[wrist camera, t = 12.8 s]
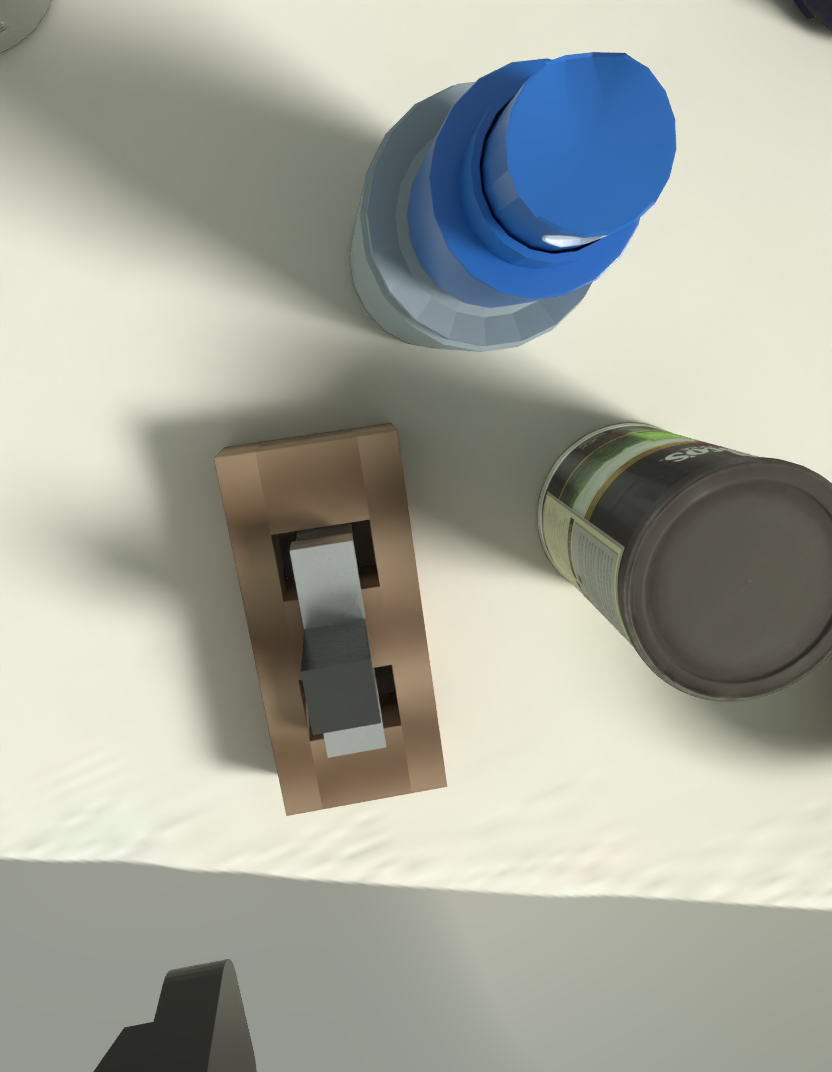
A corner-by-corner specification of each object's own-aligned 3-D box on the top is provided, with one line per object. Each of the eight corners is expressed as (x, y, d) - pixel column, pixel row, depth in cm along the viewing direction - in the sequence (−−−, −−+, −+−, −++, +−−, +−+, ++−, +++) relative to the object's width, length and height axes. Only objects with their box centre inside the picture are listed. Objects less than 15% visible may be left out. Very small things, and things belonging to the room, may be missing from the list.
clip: (295, 519, 43) (283, 582, 32) (349, 511, 43) (356, 570, 32) (327, 700, 46) (327, 815, 35) (378, 691, 46) (394, 803, 35)
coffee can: (568, 400, 43) (678, 427, 30) (733, 450, 45) (909, 497, 31) (511, 572, 45) (589, 672, 32) (670, 614, 47) (809, 726, 33)
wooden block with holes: (224, 447, 42) (214, 458, 38) (391, 422, 42) (397, 431, 39) (289, 776, 47) (286, 816, 43) (437, 750, 48) (447, 786, 44)
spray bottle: (514, 350, 42) (762, 363, 18) (349, 346, 41) (378, 353, 17) (524, 171, 40) (820, -84, 16) (350, 162, 39) (384, -125, 15)
